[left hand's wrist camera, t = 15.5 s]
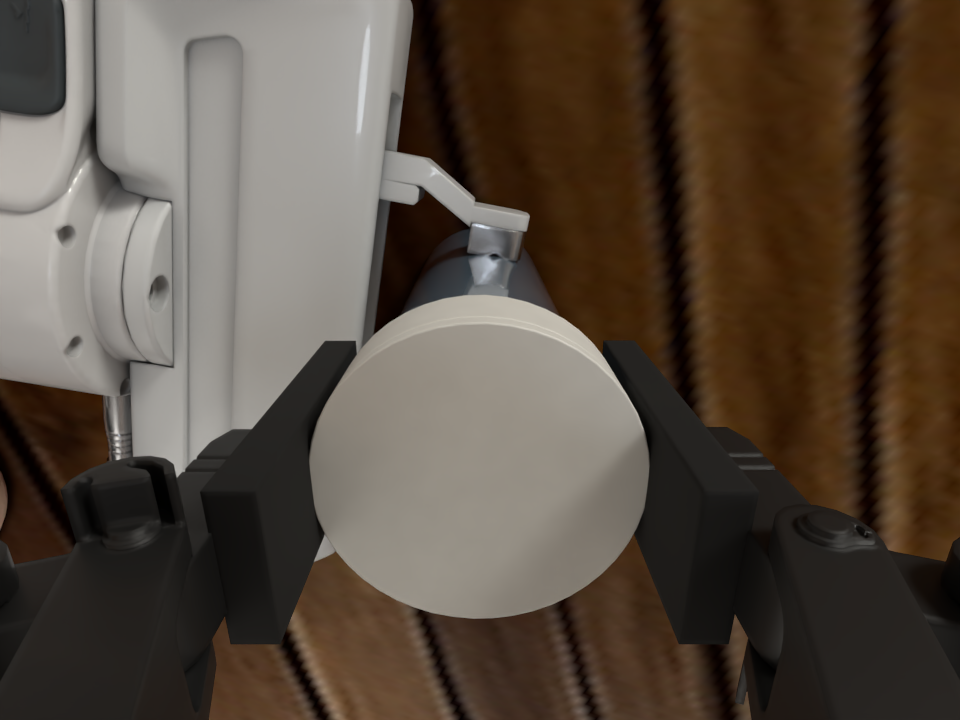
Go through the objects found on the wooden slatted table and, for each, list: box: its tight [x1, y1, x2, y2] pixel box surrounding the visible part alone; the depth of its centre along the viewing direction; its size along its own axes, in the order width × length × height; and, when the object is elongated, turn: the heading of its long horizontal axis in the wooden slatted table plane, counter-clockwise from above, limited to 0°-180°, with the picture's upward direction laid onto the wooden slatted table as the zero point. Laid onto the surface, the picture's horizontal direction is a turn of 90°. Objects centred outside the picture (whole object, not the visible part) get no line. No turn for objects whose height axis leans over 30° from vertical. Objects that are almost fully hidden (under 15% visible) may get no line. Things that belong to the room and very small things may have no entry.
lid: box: [309, 295, 650, 618], centre depth 11 cm, size 6×6×2 cm
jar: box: [399, 229, 560, 316], centre depth 18 cm, size 5×5×15 cm
